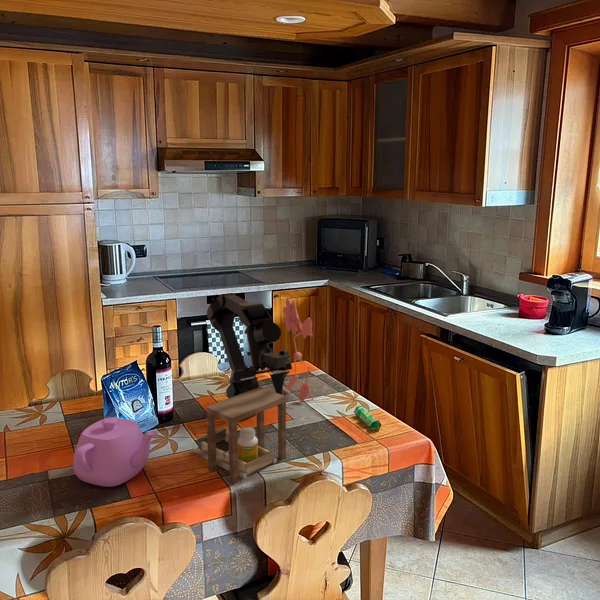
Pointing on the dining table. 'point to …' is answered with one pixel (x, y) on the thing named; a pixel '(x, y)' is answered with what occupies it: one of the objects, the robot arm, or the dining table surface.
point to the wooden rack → (247, 468)
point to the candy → (367, 418)
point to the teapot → (111, 452)
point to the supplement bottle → (247, 445)
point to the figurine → (306, 328)
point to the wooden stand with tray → (232, 413)
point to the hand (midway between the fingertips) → (268, 399)
